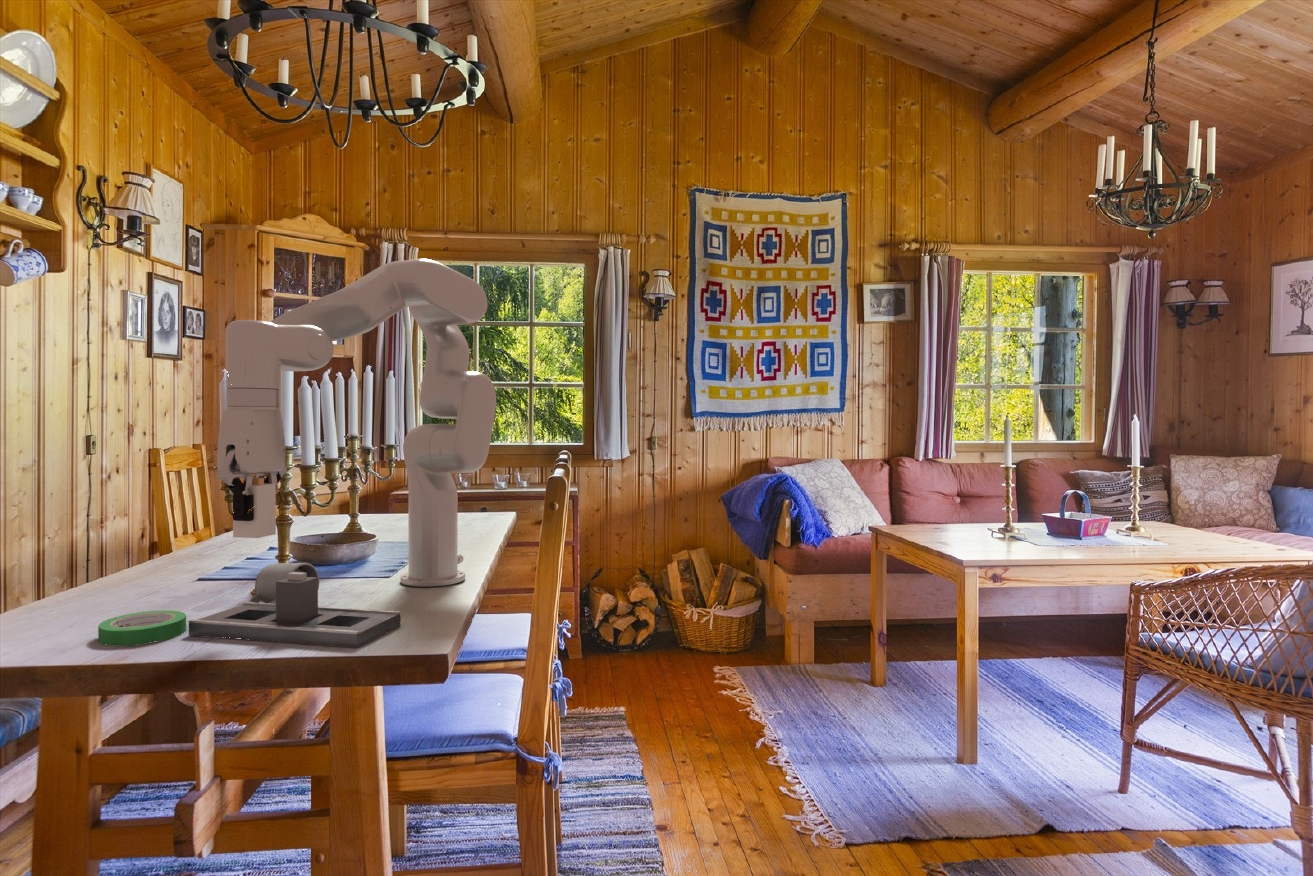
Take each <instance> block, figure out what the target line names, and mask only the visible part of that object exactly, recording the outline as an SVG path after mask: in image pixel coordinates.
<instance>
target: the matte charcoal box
mask: <svg viewBox="0 0 1313 876" xmlns="http://www.w3.org/2000/svg"><path fill="white" fill-rule="evenodd" d="M318 606H319V589H318V577H307V573H302V572H291V573H288V578H286V579H283V580H280V581H277V582H276V622H284V623H299V624H302V623H305V622H307V621H310V620H312V619H315V618H317V617H318Z"/></svg>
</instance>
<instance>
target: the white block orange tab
mask: <svg viewBox="0 0 1313 876" xmlns="http://www.w3.org/2000/svg"><path fill="white" fill-rule="evenodd" d="M264 478H265V477H264ZM264 478H256V477H253V478H252V485H251V492H250V494H249V495H254V506H255V505H256V507H255V508H254V519H253V520H252V521H234V520H233V519H232V537H233V538H245V539H259V538H261V539H262V538H264V537H269V536H274V535H276V534H277V531H276V530H277V523H276V522H277V520H276V519H277V516H276V515H277V514H276V513H277V511H276V510H277V507H276V505H277V504H276V503H277V502H276V501H277V500H276V498H277V497H276V492H277V491H276V484H270V483H264Z"/></svg>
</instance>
